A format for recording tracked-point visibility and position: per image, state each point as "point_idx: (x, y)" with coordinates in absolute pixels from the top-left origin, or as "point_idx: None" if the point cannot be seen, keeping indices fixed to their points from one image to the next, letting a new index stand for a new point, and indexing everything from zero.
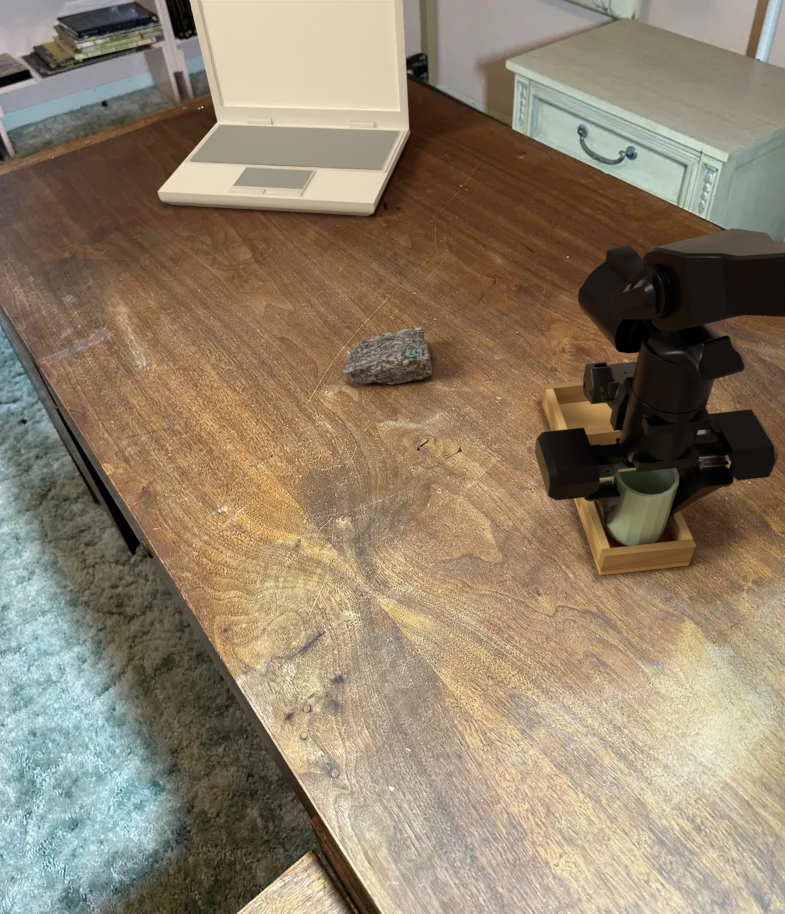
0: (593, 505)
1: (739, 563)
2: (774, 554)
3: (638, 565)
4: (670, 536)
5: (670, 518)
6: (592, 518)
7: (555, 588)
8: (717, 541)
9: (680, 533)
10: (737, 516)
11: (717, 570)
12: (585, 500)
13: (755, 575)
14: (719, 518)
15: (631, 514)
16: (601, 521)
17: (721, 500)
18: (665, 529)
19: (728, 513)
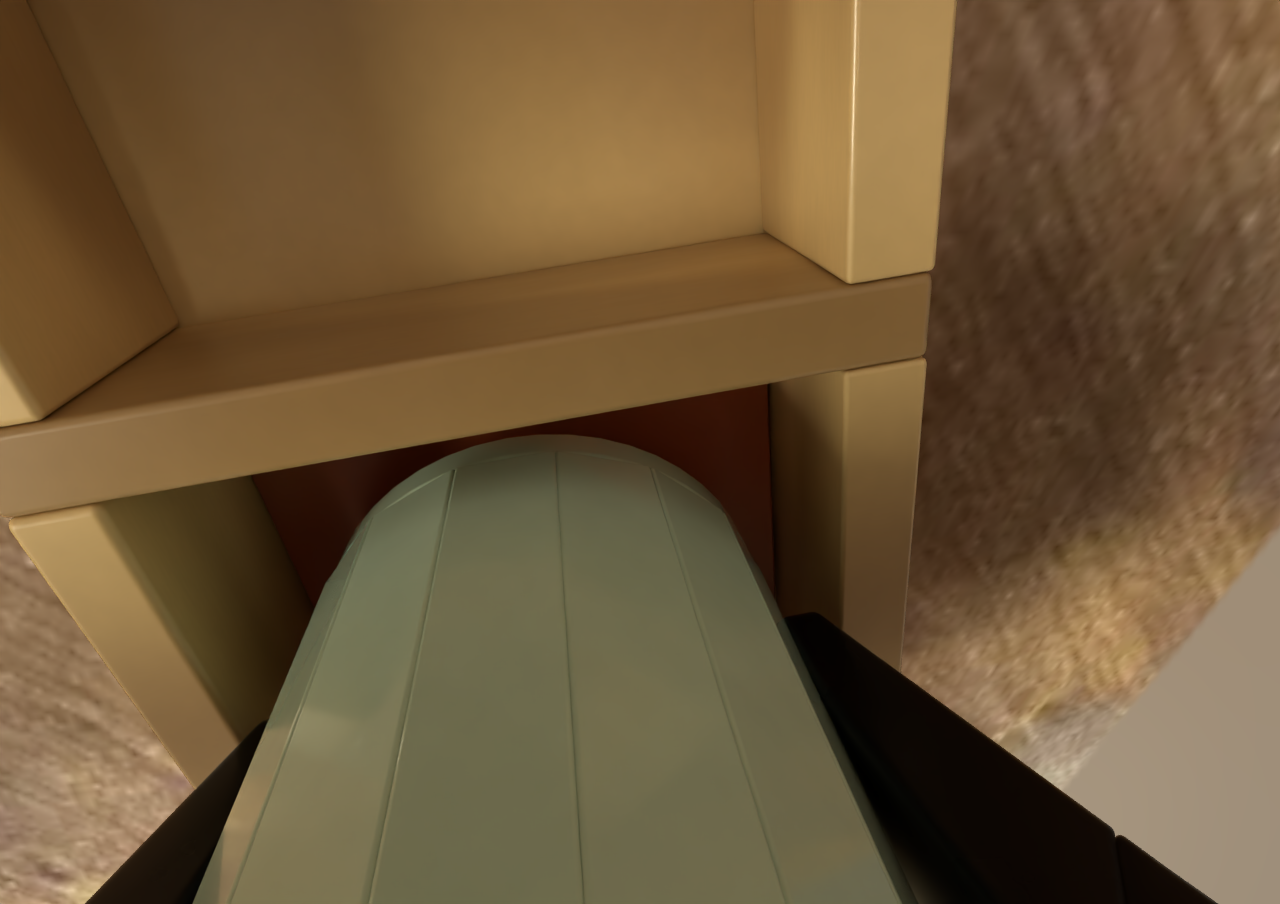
0: (167, 656)
1: (1043, 641)
2: (1220, 585)
3: None
4: (777, 582)
5: (813, 605)
6: (184, 762)
7: (138, 845)
8: (1012, 540)
9: None
10: (1216, 370)
11: (930, 682)
12: (69, 610)
13: (1072, 685)
14: (1110, 390)
15: None
16: (339, 517)
17: (1211, 239)
18: (763, 545)
19: (1183, 349)
